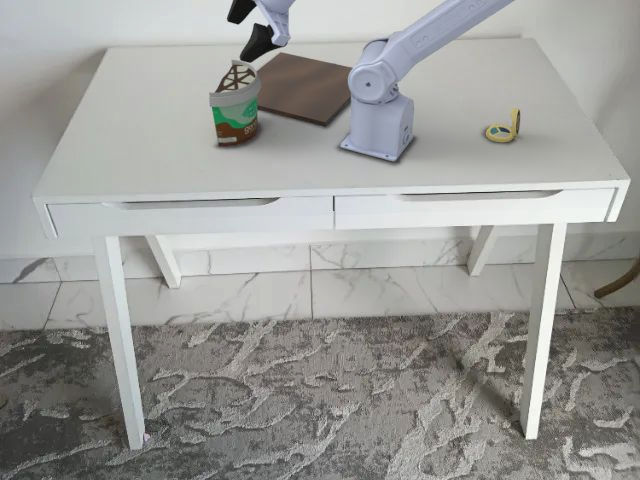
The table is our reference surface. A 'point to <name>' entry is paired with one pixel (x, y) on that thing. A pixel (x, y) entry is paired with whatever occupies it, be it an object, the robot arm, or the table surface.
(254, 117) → the food container
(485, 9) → the robot arm
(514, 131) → the eyeshadow
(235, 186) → the table surface
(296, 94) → the walnut board
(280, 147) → the table surface
